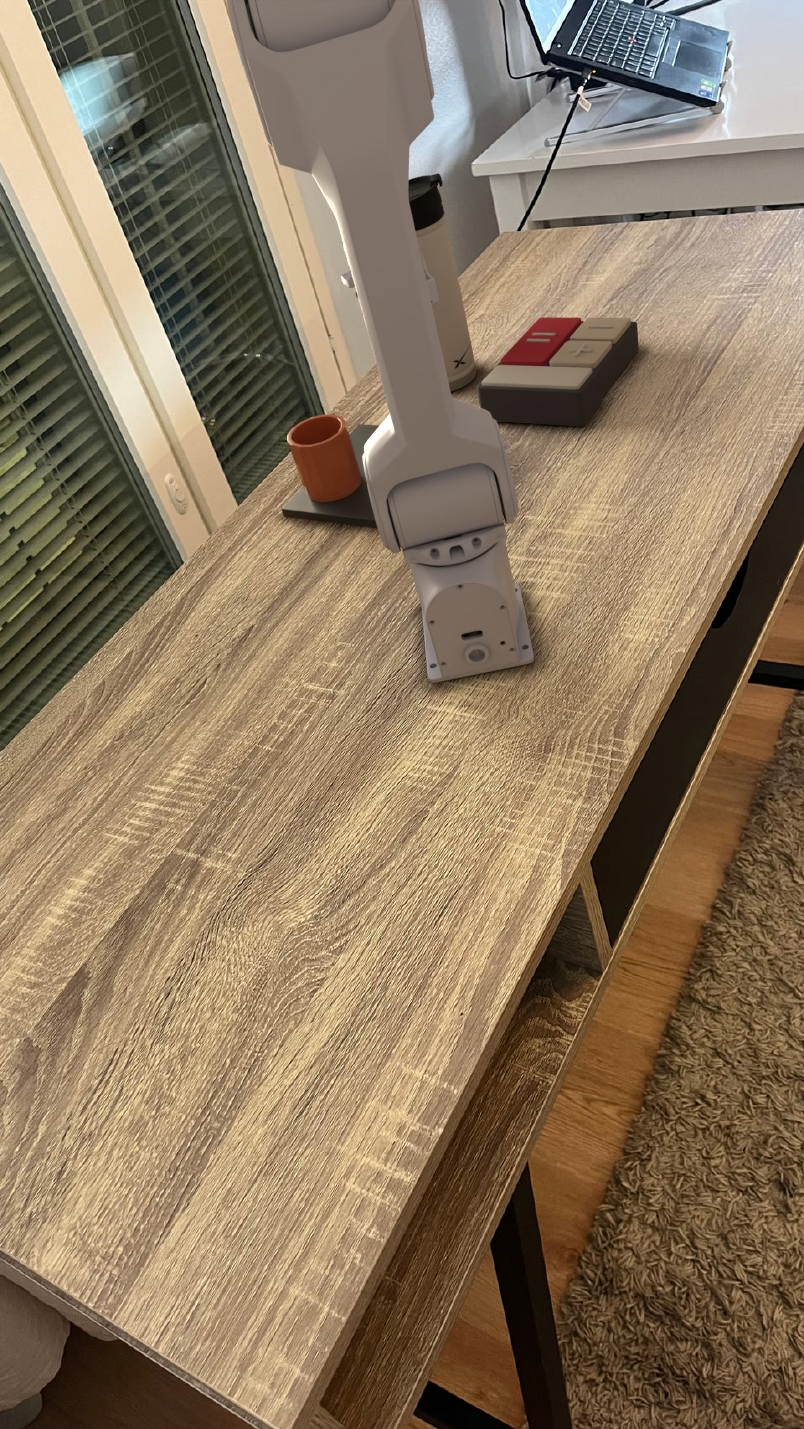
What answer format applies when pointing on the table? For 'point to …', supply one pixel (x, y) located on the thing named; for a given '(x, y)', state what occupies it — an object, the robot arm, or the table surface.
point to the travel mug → (442, 279)
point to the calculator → (559, 370)
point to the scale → (346, 509)
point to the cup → (325, 458)
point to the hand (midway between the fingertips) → (411, 362)
